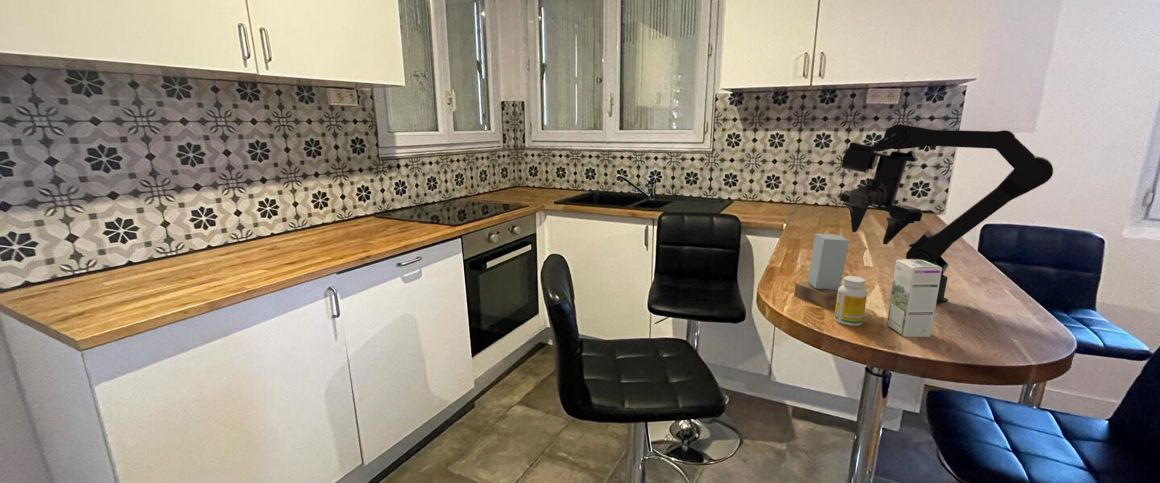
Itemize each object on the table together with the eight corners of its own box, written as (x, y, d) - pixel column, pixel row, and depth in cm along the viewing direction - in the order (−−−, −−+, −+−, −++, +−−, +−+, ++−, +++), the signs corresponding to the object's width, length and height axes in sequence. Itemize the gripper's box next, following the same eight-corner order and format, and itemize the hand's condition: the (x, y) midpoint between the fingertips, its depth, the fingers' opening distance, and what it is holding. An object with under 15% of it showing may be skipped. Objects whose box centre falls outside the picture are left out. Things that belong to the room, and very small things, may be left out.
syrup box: (932, 337, 96) (944, 266, 93) (901, 337, 96) (913, 266, 93) (913, 325, 102) (924, 258, 98) (884, 325, 102) (895, 258, 98)
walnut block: (852, 303, 115) (854, 289, 115) (825, 309, 112) (826, 295, 111) (820, 292, 123) (822, 278, 123) (794, 297, 120) (795, 283, 119)
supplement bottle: (828, 318, 106) (833, 276, 103) (847, 315, 107) (852, 273, 105) (849, 328, 101) (855, 283, 98) (868, 324, 102) (875, 281, 100)
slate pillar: (830, 282, 120) (839, 235, 117) (839, 290, 114) (849, 240, 111) (807, 280, 120) (815, 233, 117) (815, 288, 115) (824, 238, 112)
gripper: (832, 167, 124) (816, 226, 129) (898, 185, 107) (877, 251, 112) (865, 169, 128) (848, 226, 133) (933, 186, 111) (911, 250, 116)
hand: (868, 238), depth 123 cm, fingers open, 9 cm apart
